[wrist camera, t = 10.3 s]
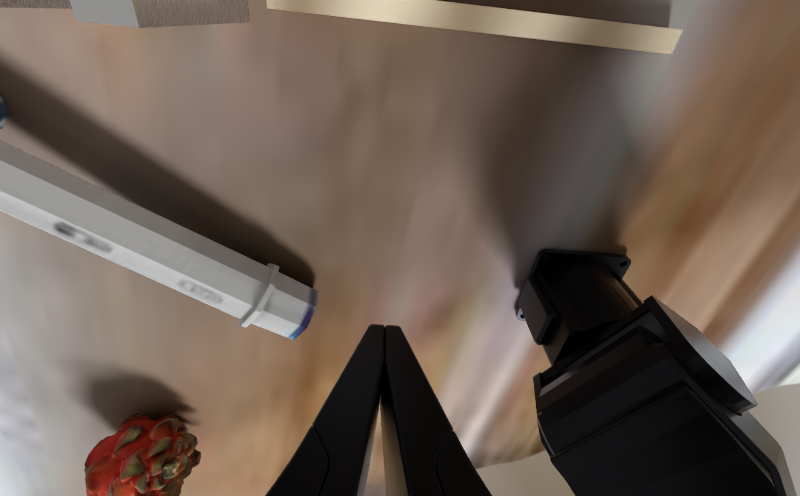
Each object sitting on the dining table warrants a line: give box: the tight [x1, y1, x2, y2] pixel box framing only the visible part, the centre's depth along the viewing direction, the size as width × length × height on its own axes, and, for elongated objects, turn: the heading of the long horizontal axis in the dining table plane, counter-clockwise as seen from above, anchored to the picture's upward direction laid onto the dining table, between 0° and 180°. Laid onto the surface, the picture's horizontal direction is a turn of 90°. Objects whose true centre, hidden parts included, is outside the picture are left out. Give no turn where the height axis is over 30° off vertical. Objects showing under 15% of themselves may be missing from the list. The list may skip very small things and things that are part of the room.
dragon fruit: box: [85, 413, 201, 496], centre depth 33 cm, size 8×8×12 cm
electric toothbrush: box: [0, 96, 318, 340], centre depth 20 cm, size 5×7×25 cm
